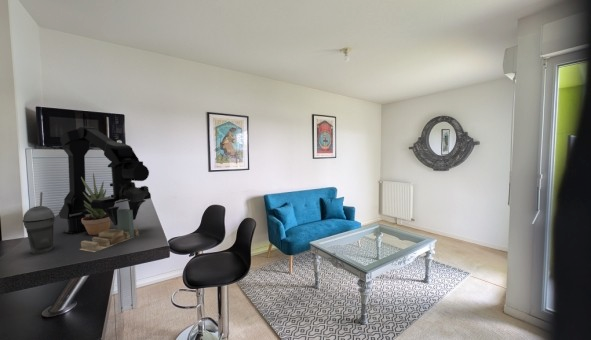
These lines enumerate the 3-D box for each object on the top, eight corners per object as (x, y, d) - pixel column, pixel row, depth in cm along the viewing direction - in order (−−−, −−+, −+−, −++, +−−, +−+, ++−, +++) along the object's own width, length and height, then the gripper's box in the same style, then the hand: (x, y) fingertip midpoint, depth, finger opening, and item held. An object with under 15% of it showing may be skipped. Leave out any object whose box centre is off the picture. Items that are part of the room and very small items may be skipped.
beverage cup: (35, 251, 83) (28, 191, 81) (63, 248, 85) (57, 189, 84) (20, 260, 76) (13, 195, 74) (51, 256, 79) (44, 193, 77)
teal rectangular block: (130, 237, 91) (128, 210, 90) (118, 236, 93) (116, 209, 92) (134, 236, 92) (132, 209, 92) (122, 234, 94) (120, 208, 93)
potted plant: (76, 238, 94) (70, 173, 92) (99, 230, 104) (95, 170, 101) (98, 240, 92) (93, 173, 90) (120, 231, 102) (116, 170, 100)
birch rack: (95, 255, 79) (94, 244, 79) (79, 252, 81) (78, 242, 81) (140, 237, 94) (139, 228, 94) (126, 236, 96) (125, 226, 96)
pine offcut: (112, 239, 85) (111, 234, 85) (99, 238, 86) (98, 233, 86) (123, 234, 89) (123, 229, 89) (110, 233, 90) (110, 229, 90)
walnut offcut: (111, 245, 84) (110, 239, 84) (98, 243, 86) (97, 238, 86) (125, 239, 89) (124, 234, 89) (112, 238, 91) (112, 233, 91)
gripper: (112, 184, 79) (116, 232, 81) (160, 177, 97) (163, 217, 99) (88, 183, 83) (91, 229, 84) (138, 176, 101) (141, 215, 102)
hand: (125, 222), depth 92 cm, fingers open, 7 cm apart
